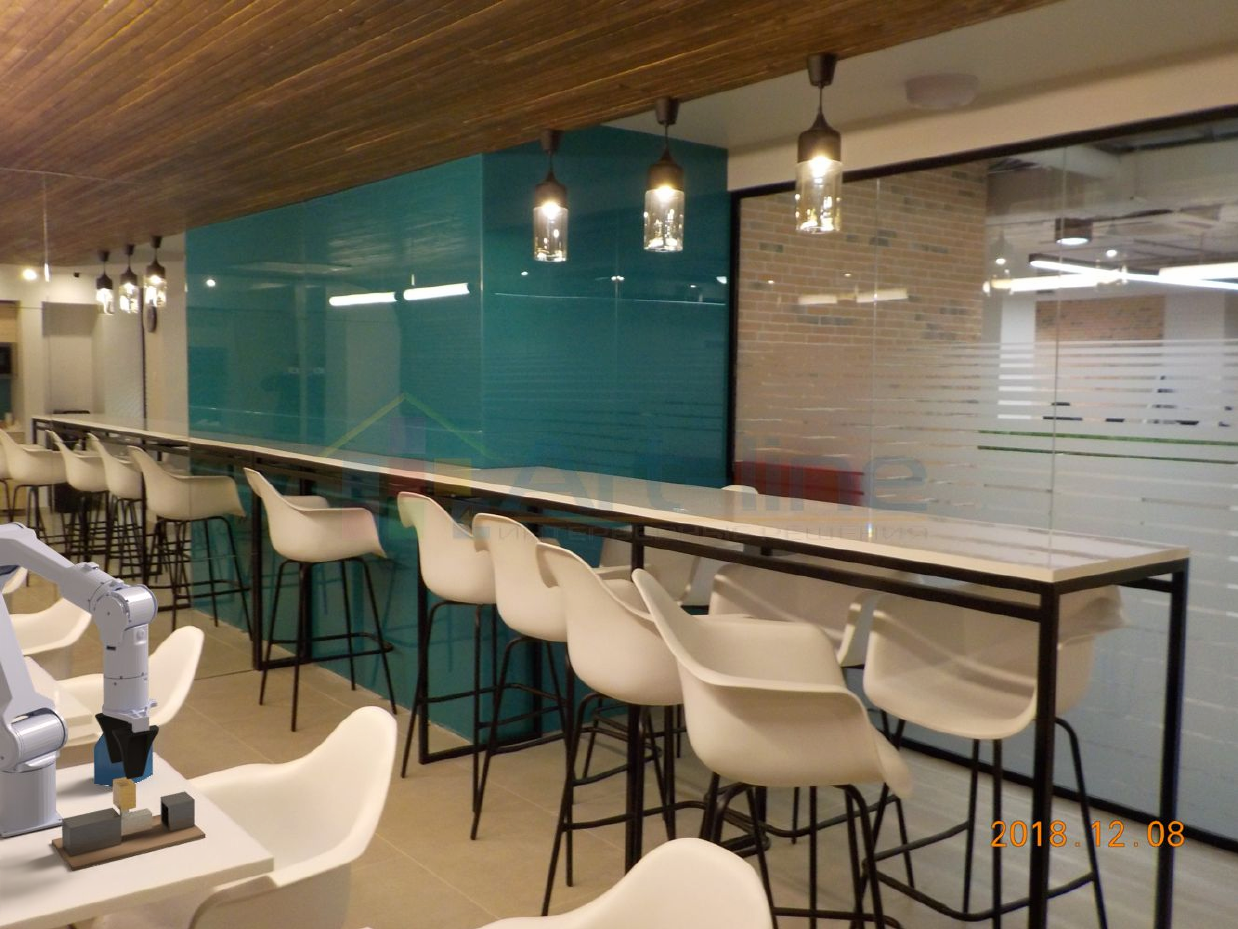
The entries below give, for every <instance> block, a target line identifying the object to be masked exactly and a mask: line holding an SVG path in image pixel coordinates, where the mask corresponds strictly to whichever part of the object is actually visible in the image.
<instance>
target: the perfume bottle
mask: <svg viewBox="0 0 1238 929" xmlns="http://www.w3.org/2000/svg"><path fill="white" fill-rule="evenodd" d="M153 744H154V742H153V743H152V745H151V748H150V751H149V754H148V758H147V763H146V767H145V771H144V774H143V776H142V777H137V778H132V779H131V780H132V781H133V782H134V783H137V782H139V783H140V781H141V782H143V781H144V780H146V779H148V778H149V776H150V777H151V775H152V776H153V775H154V763H153V762H154V761H153V760H154V757H153V756H154V750H153V749H154V746H153ZM123 777H126V776H125V773H124V768H123V762H118V763H113V764H112V763H111V761H110V758H109V754H108V750H107V746H106V741H105V738H104V734H103V732H102V734H101V735H100V736H99V738H98V739H97V741H96V743H95V745H94V746H93V784H99V785H98V786H103V785H109V786H108V787H112V786H113V780H114V779H118V778H123ZM147 777H148V778H147ZM142 780H143V781H142ZM137 784H138V783H137Z"/></svg>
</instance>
